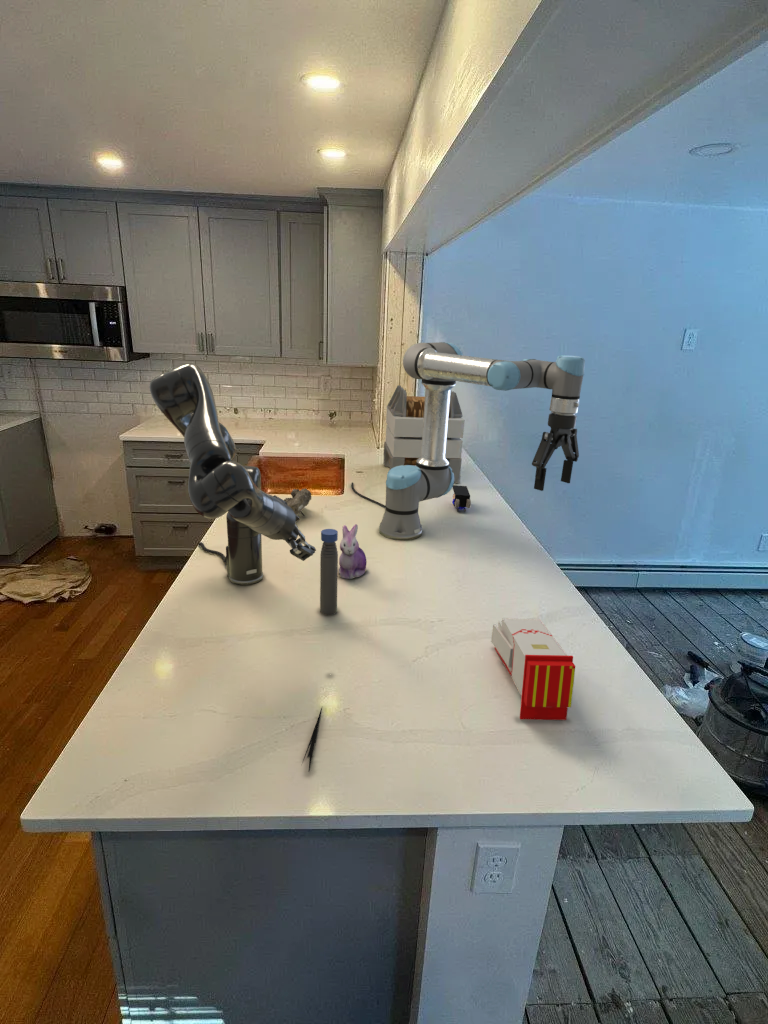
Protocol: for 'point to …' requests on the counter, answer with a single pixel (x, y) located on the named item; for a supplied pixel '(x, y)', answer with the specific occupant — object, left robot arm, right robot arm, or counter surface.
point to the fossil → (298, 500)
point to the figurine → (351, 555)
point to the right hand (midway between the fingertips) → (552, 485)
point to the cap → (329, 535)
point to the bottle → (328, 578)
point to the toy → (535, 667)
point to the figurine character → (461, 497)
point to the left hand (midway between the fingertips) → (303, 535)
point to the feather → (313, 740)
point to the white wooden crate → (419, 431)
